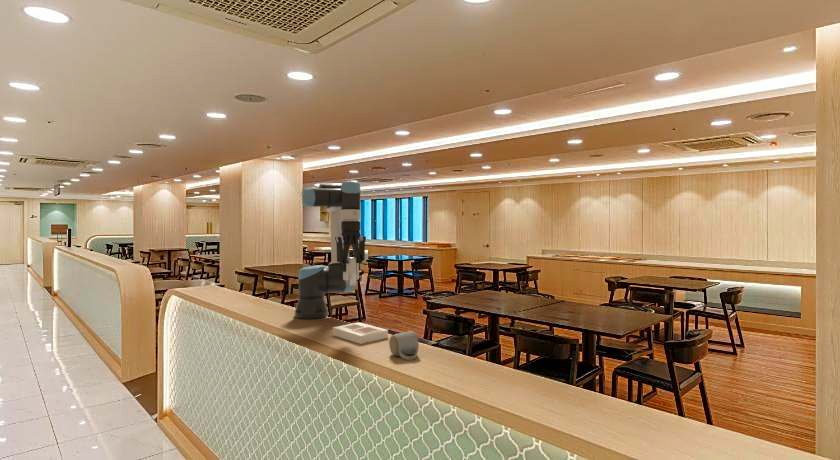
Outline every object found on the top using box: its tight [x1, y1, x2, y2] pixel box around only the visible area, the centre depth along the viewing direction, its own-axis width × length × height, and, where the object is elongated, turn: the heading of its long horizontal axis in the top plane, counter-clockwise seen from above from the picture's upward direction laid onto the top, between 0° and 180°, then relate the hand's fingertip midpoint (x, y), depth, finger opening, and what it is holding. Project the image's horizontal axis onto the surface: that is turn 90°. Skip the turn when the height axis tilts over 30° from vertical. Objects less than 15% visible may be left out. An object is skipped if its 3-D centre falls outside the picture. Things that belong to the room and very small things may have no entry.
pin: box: [345, 256, 358, 287], centre depth 182 cm, size 4×4×11 cm
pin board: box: [332, 322, 389, 345], centre depth 179 cm, size 18×13×3 cm
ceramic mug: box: [388, 330, 420, 361], centre depth 154 cm, size 11×8×8 cm
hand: (351, 279), depth 182 cm, fingers closed on pin, 4 cm apart
